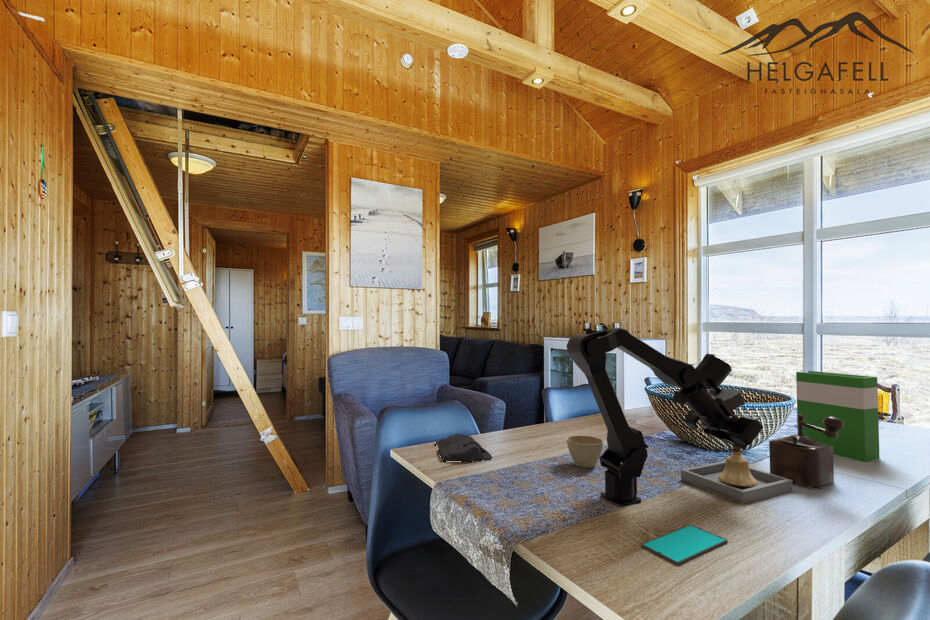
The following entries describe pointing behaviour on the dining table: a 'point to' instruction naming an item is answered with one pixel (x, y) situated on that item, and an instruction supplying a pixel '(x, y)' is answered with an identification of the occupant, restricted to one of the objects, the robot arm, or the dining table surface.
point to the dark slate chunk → (461, 449)
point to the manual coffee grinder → (805, 455)
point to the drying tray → (709, 480)
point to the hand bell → (737, 469)
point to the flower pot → (585, 450)
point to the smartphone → (684, 544)
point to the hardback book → (841, 411)
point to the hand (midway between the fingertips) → (740, 446)
